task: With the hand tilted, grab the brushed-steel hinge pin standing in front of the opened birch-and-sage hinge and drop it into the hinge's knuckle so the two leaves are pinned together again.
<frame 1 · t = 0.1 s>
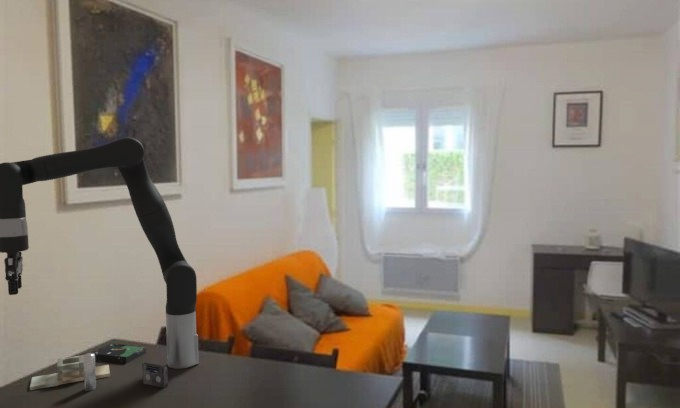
hand: (15, 291, 144), 29 cm above the table, tool pointing down, fingers open, 8 cm apart
disk drive: (118, 358, 174), on the table
hinge leaves: (71, 378, 155), on the table
mini dv tape: (155, 385, 150), on the table
hinge pin: (90, 388, 148), on the table
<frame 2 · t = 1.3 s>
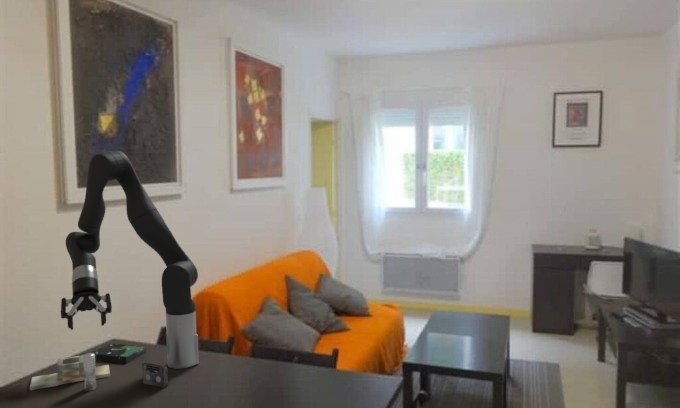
hand: (87, 326, 157), 15 cm above the table, tool tilted 45°, fingers open, 8 cm apart
nothing on the table moved.
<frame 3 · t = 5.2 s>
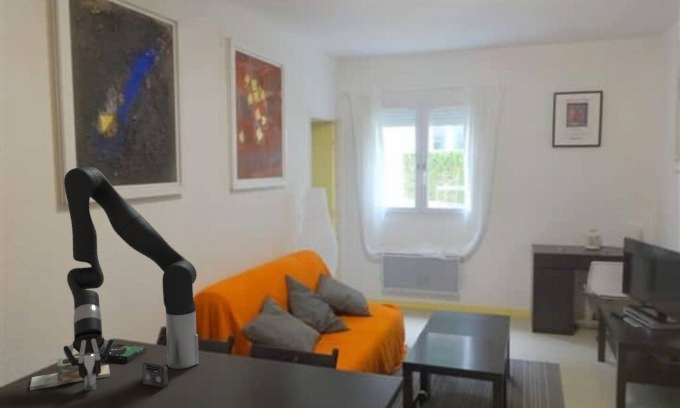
hand: (90, 375, 146), 4 cm above the table, tool tilted 45°, fingers closed on hinge pin, 3 cm apart
hinge pin: (90, 388, 148), on the table, touching gripper
everything else where it was.
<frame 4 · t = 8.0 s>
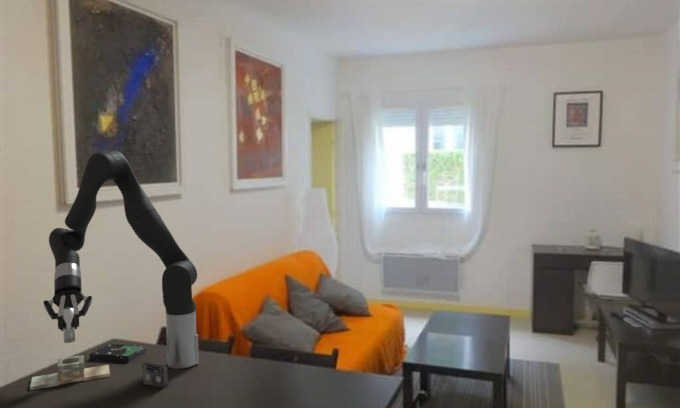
hand: (68, 328, 152), 16 cm above the table, tool tilted 45°, fingers closed on hinge pin, 3 cm apart
hinge pin: (69, 341, 154), point 12 cm above the table, touching gripper
everything else where it was.
when the fingers open (6 cm above the table, at t = 10.9 s): hinge pin stays where it is, resting on hinge leaves.
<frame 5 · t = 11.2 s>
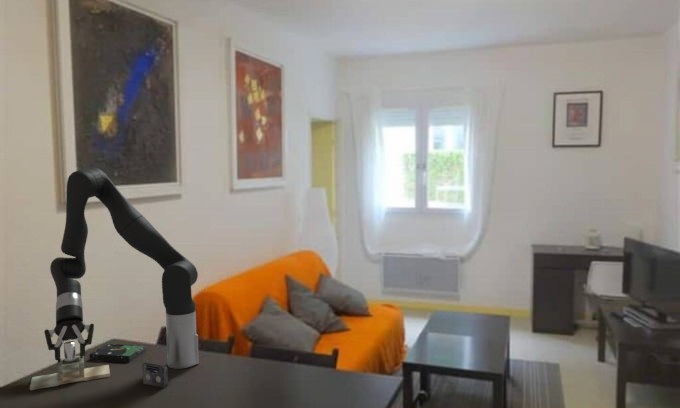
hand: (70, 358, 153), 7 cm above the table, tool tilted 45°, fingers open, 5 cm apart
hinge pin: (71, 375, 155), point 1 cm above the table, touching hinge leaves
everything else where it was.
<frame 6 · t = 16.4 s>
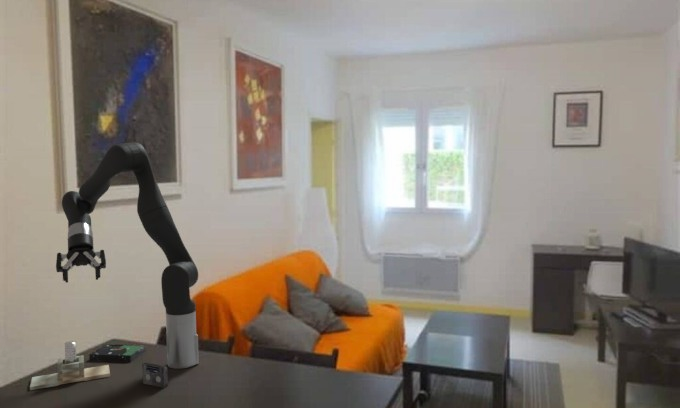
hand: (82, 279, 161), 29 cm above the table, tool tilted 45°, fingers open, 8 cm apart
nothing on the table moved.
at the end: hinge pin 0.1 cm off-centre on the hinge leaves, point 1.0 cm above the hinge leaves's base; hinge pin tilted 1°; the gripper is holding nothing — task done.
